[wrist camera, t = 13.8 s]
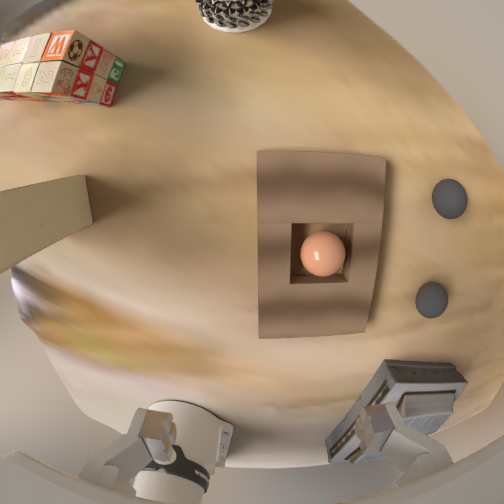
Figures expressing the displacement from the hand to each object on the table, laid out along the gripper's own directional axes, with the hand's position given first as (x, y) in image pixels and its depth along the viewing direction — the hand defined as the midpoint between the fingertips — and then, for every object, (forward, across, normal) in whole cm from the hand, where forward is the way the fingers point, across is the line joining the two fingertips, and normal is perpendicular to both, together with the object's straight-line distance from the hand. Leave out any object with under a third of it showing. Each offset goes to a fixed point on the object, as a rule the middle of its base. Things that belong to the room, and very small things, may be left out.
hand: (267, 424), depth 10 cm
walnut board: (+24, +7, +1) cm, 25 cm away
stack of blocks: (+24, -27, +24) cm, 43 cm away
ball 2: (+21, +24, +8) cm, 33 cm away
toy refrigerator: (+24, -25, +7) cm, 35 cm away
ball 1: (+21, +24, -6) cm, 33 cm away
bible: (+25, +27, -32) cm, 48 cm away
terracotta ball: (+21, +7, +1) cm, 22 cm away
